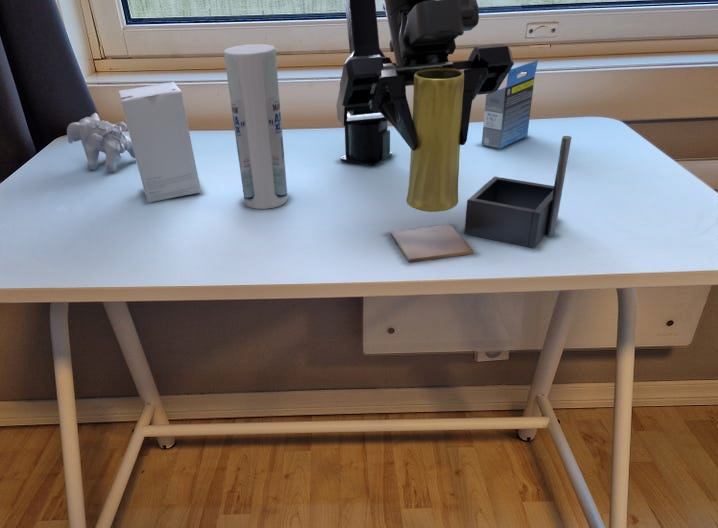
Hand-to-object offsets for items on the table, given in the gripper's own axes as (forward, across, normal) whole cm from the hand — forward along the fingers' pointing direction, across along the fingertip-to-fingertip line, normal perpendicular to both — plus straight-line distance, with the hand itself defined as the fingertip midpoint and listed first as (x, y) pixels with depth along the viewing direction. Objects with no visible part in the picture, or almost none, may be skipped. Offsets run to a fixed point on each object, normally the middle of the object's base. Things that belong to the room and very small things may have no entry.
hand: (439, 146), depth 70 cm
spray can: (-6, -18, +24) cm, 31 cm away
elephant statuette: (-23, -43, +41) cm, 64 cm away
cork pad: (+8, 0, +10) cm, 12 cm away
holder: (+7, +11, +11) cm, 17 cm away
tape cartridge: (-16, +25, +34) cm, 45 cm away
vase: (+4, 0, +6) cm, 7 cm away
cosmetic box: (-11, -32, +29) cm, 45 cm away
